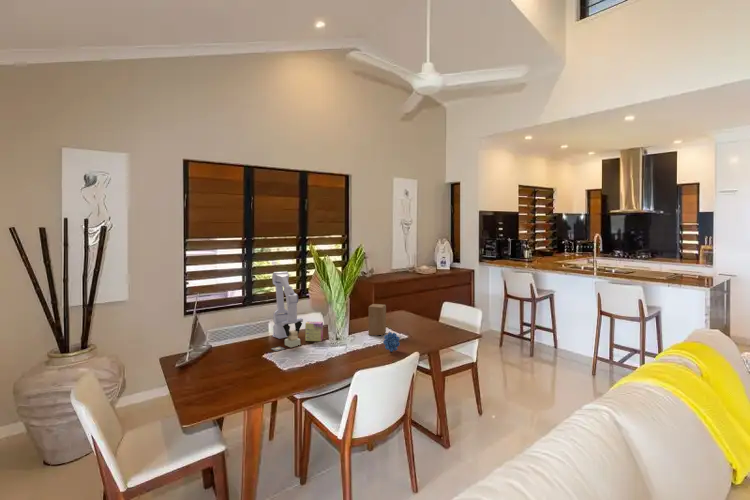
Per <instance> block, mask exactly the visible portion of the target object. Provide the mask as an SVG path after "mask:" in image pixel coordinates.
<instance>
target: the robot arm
mask: <svg viewBox="0 0 750 500" xmlns="http://www.w3.org/2000/svg"><path fill="white" fill-rule="evenodd" d="M271 275H272V276H271V279H272V285H274V287H275V297H276V298H275V299H276V310H275V311H274V312H273V315H272V320H273V323H274V324H273V327H272V328H273V329H272V330H273V331H272V332H273V335H272V337H274V338H277V339H279V340H280V339H284V338H285V339H286V338H288V336H289V331H291V330H290V329H291V325H292V324H294V327H295V329H294V330H295V331H298V335H299V333H300V329H301V326H302V325H303V322H304V319H303V318H302V317H301V318H298V302H299V295H298V293H296V292H295V291H294V289H293V287H292V286H291V285H290V283H289V278H290V274H289V272H288V271H287V270H286V271H274V272H273V273H272V274H271ZM284 295H285V298H284ZM285 301H286V306H287V309H285Z"/></svg>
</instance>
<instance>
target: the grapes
mask: <svg viewBox="0 0 750 500" xmlns="http://www.w3.org/2000/svg"><path fill="white" fill-rule="evenodd" d="M383 336H384V340H383V343H382V344H383V345H384V348H385V350H388V351H389V352H391V353H393V352H394V351H397V350H398V347H400V345H401V344H400V343H401V342H400V337H399V336H398V335H397V332H391V331H389V332H388V333H387V334H384V335H383Z"/></svg>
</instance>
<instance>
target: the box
mask: <svg viewBox="0 0 750 500" xmlns="http://www.w3.org/2000/svg"><path fill="white" fill-rule="evenodd" d="M304 331H305V333H304V334H305V338H304V339H305V342H306V341H307V342H323V340H324V339H323V338H324V335H323V334H324V333H323V332H324V322H323V321H310V320H309V321H306V322H305V330H304Z"/></svg>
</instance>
